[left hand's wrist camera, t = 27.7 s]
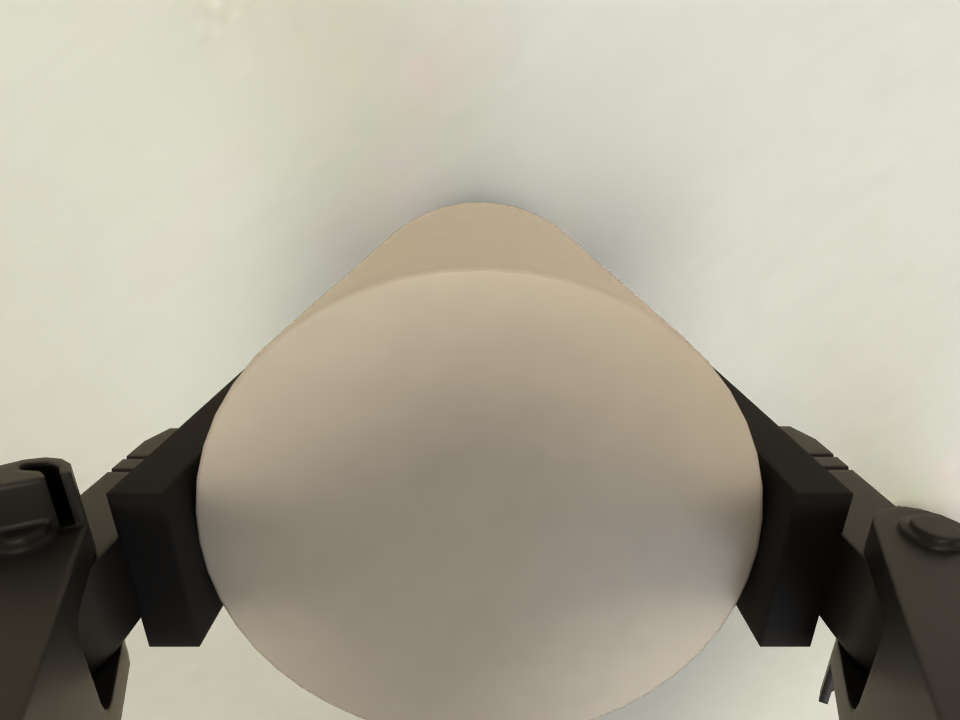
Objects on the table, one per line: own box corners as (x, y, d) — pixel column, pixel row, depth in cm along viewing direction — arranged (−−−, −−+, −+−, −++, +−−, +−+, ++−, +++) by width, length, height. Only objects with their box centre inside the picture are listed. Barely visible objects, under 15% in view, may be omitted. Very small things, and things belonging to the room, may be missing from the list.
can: (395, 468, 20) (312, 775, 10) (314, 240, 17) (85, 355, 7) (625, 417, 19) (781, 694, 9) (582, 170, 16) (741, 188, 6)
